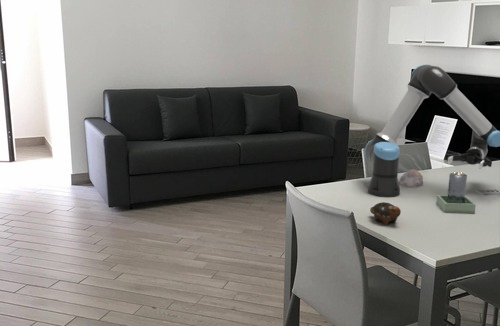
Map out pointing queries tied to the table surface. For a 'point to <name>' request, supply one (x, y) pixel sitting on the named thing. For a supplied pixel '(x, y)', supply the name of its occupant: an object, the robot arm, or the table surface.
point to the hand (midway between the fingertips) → (464, 163)
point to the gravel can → (457, 187)
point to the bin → (455, 205)
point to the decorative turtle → (385, 212)
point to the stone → (411, 179)
